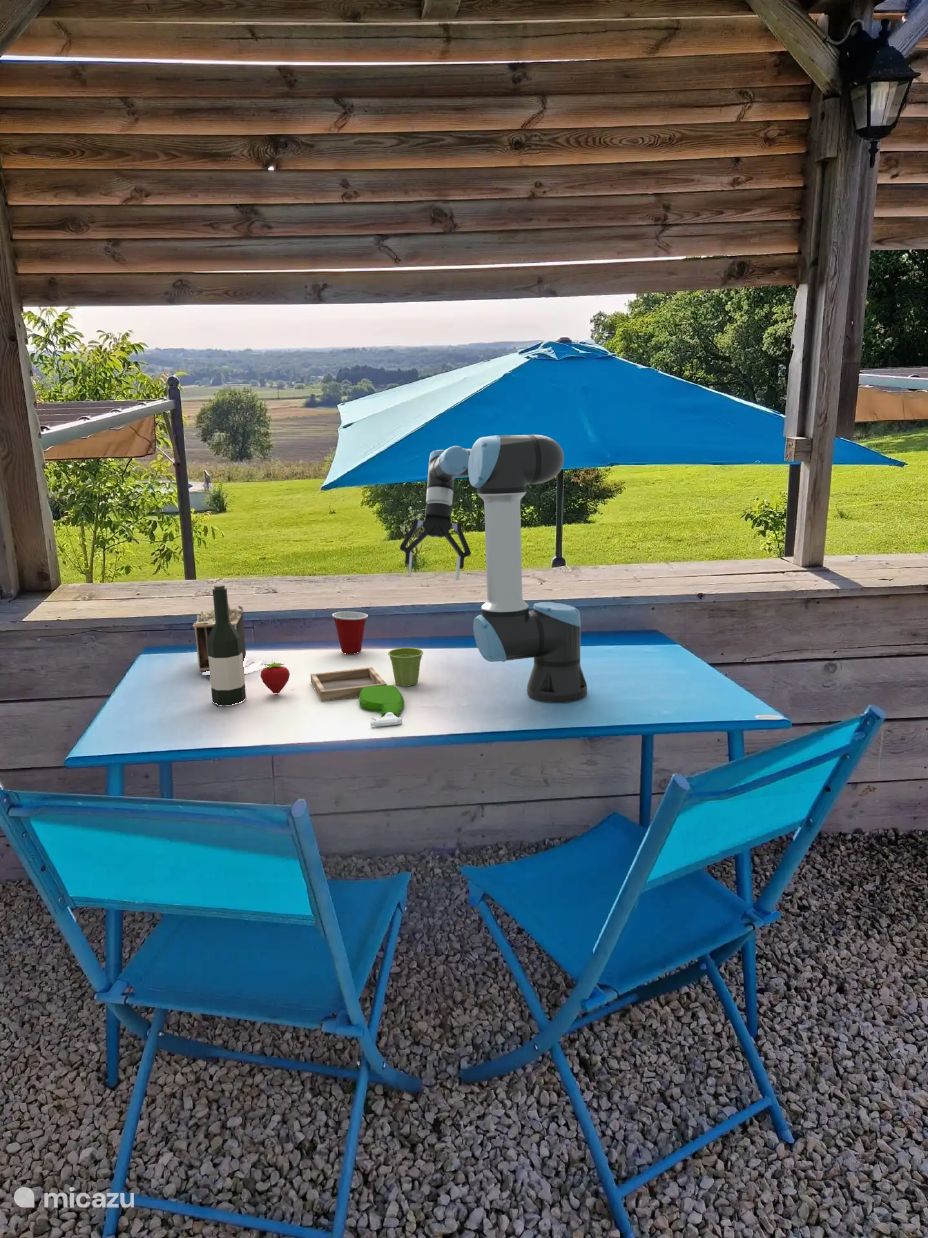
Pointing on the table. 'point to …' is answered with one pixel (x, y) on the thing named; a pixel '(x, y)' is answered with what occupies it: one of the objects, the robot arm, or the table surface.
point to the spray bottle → (383, 704)
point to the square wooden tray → (345, 683)
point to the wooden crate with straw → (204, 629)
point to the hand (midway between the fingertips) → (433, 578)
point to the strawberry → (275, 676)
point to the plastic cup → (350, 630)
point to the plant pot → (406, 665)
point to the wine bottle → (225, 654)
